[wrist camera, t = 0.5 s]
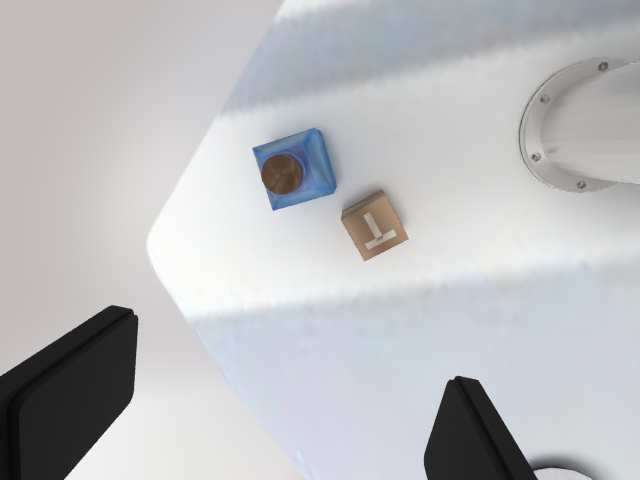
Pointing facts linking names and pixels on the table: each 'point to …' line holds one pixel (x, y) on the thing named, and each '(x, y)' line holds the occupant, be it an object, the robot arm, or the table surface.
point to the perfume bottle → (295, 169)
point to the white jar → (559, 474)
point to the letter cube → (373, 225)
